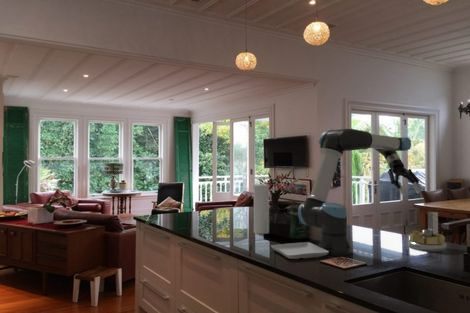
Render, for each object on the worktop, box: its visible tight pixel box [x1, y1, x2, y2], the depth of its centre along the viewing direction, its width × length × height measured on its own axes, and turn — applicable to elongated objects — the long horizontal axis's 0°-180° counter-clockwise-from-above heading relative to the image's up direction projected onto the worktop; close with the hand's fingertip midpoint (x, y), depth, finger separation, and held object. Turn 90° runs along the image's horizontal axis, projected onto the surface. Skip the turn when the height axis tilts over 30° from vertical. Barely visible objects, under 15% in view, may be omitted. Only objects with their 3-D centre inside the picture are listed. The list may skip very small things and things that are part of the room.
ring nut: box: [409, 211, 446, 244], centre depth 195 cm, size 16×15×14 cm
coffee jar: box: [289, 205, 308, 240], centre depth 220 cm, size 10×8×19 cm
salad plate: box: [270, 241, 329, 260], centre depth 182 cm, size 21×21×3 cm
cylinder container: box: [253, 183, 270, 235], centre depth 237 cm, size 9×9×30 cm
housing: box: [408, 228, 447, 253], centre depth 194 cm, size 17×17×9 cm
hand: (411, 192), depth 211 cm, fingers open, 9 cm apart
